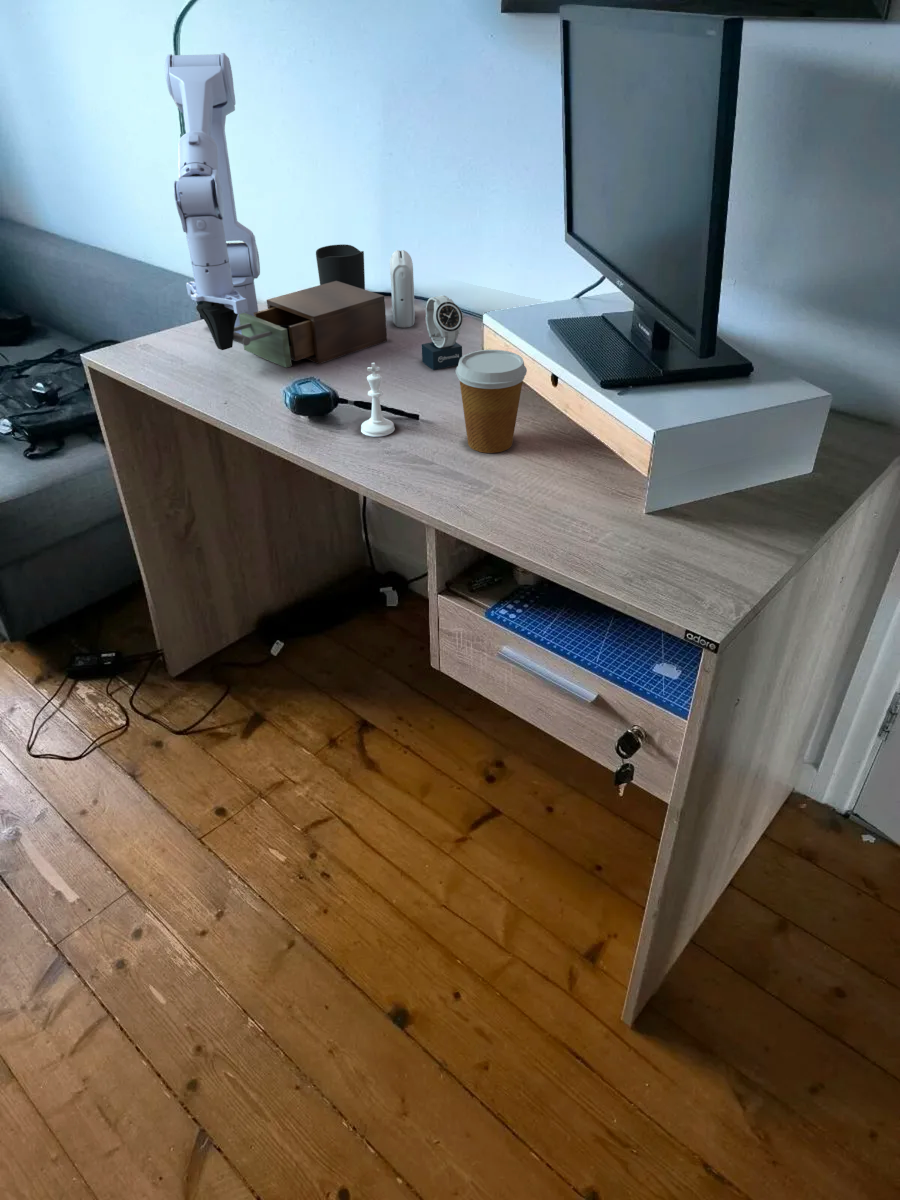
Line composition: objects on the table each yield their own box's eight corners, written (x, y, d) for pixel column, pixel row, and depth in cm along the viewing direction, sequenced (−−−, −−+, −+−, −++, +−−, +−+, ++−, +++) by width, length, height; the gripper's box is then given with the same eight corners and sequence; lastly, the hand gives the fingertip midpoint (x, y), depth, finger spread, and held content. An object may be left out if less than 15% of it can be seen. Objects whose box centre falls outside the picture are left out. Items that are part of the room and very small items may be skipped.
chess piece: (360, 423, 127) (355, 357, 121) (394, 421, 127) (390, 356, 121) (360, 437, 123) (355, 370, 117) (395, 436, 123) (391, 369, 117)
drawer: (257, 377, 139) (251, 339, 136) (216, 358, 146) (209, 322, 143) (353, 345, 151) (350, 309, 147) (310, 329, 158) (306, 295, 154)
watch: (438, 374, 142) (437, 307, 135) (417, 358, 148) (415, 294, 141) (468, 367, 144) (468, 301, 137) (446, 352, 150) (445, 288, 143)
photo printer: (416, 327, 161) (413, 259, 153) (393, 328, 160) (389, 260, 153) (413, 310, 169) (411, 244, 162) (392, 311, 169) (388, 245, 161)
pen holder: (315, 308, 171) (309, 256, 165) (328, 294, 178) (323, 243, 172) (360, 310, 170) (356, 257, 164) (371, 295, 177) (368, 245, 171)
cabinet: (319, 364, 146) (313, 316, 141) (272, 345, 154) (266, 299, 149) (387, 341, 155) (384, 295, 150) (340, 324, 163) (336, 280, 158)
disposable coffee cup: (446, 452, 118) (445, 369, 111) (469, 425, 126) (469, 345, 118) (512, 463, 116) (514, 378, 108) (532, 434, 123) (535, 352, 116)
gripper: (163, 258, 134) (180, 343, 142) (213, 276, 125) (228, 365, 133) (202, 249, 138) (217, 332, 146) (253, 266, 129) (266, 353, 137)
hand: (225, 347), depth 140 cm, fingers closed, pressing on drawer
